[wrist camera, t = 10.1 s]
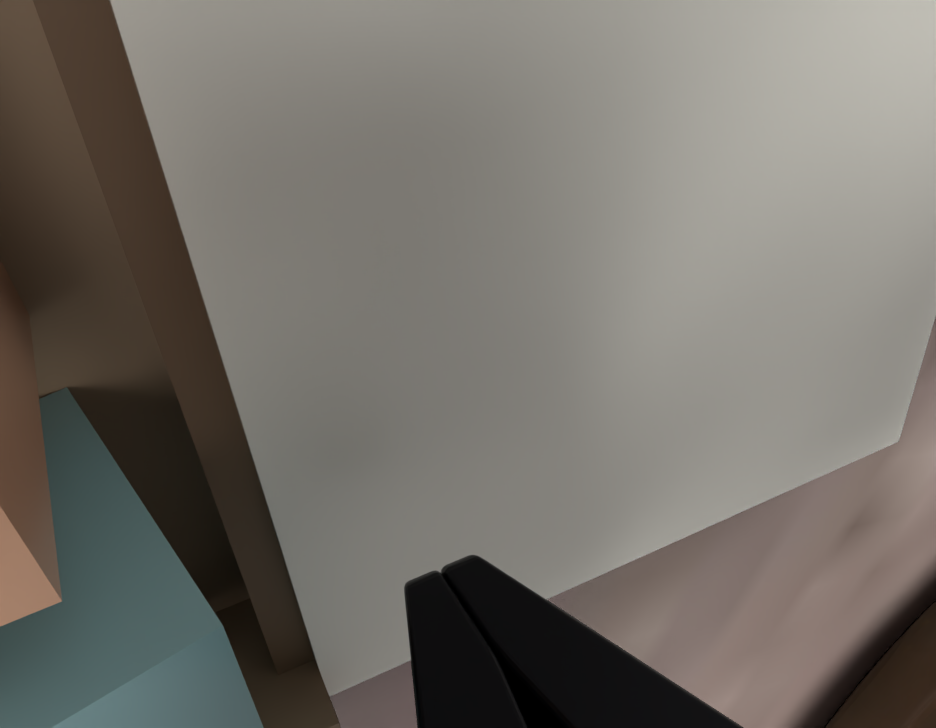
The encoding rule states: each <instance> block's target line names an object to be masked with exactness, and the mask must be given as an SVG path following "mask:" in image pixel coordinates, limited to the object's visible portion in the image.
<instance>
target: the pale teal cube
mask: <svg viewBox="0 0 936 728" xmlns="http://www.w3.org/2000/svg"><path fill="white" fill-rule="evenodd" d="M39 404H40V413H41V421H42V430H43V439H44V448H45V456H46V465H47V474H48V482H49V491H50V500H51V509H52V517H53V526H54V535H55V543H56V552H57V561H58V570H59V578H60V587H61V596H62V602H59V603H57V604H54V605H52V606H49V607H47V608H45V609H42V610H40V611H37V612H35V613H32V614H30V615H27V616H25V617H22V618H20V619H18V620H15V621H13V622H10V623H8V624H5V625H3V626H0V728H264V727H263V725H262V722H261V720H260V717H259V715H258V712H257V710H256V707H255V705H254V702H253V700H252V697H251V695H250V692H249V690H248V687H247V685H246V682H245V680H244V677H243V675H242V672H241V670H240V667H239V665H238V662H237V660H236V657H235V655H234V652H233V650H232V647H231V645H230V642H229V640H228V637H227V635H226V632H225V630H224V627H223V625H222V623H221V622H220V620H219V619H218V617H217V616H216V614H215V613H214V611H213V610H212V608H211V607H210V605H209V603H208V602H207V600H206V599H205V597H204V596H203V594H202V593H201V591H200V590H199V588H198V587H197V585H196V584H195V582H194V581H193V579H192V578H191V576H190V574H189V573H188V571H187V570H186V568H185V567H184V565H183V564H182V562H181V561H180V559H179V558H178V556H177V555H176V553H175V552H174V550H173V549H172V547H171V545H170V544H169V542H168V541H167V539H166V538H165V536H164V535H163V533H162V532H161V530H160V529H159V527H158V526H157V524H156V523H155V521H154V520H153V518H152V516H151V515H150V513H149V512H148V510H147V509H146V507H145V506H144V504H143V503H142V501H141V500H140V498H139V497H138V495H137V494H136V492H135V491H134V489H133V487H132V486H131V484H130V483H129V481H128V480H127V478H126V477H125V475H124V474H123V472H122V471H121V469H120V468H119V466H118V465H117V463H116V462H115V460H114V458H113V457H112V455H111V454H110V452H109V451H108V449H107V448H106V446H105V445H104V443H103V442H102V440H101V439H100V437H99V436H98V434H97V432H96V431H95V429H94V428H93V426H92V425H91V423H90V422H89V420H88V419H87V417H86V416H85V414H84V413H83V411H82V410H81V408H80V407H79V405H78V403H77V402H76V400H75V399H74V397H73V396H72V394H71V393H70V391H69V390H68V388H67V387H66V388H64V389H61V390H59V391H57V392H54V393H52V394H50V395H48V396H45V397H43V398H41V399H39Z"/></svg>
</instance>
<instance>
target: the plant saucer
mask: <svg viewBox="0 0 936 728" xmlns="http://www.w3.org/2000/svg"><path fill="white" fill-rule="evenodd" d="M825 728H936V601H935V602H934V603H933V604H932V605H931V606H930V607H929V608H928V609H927V610H926V611H925V612H924V613H923V614H922V615H921V616H920V617H919V618H918V619H917V620H916V621H915V622H914V623H913V624H912V625H911V626H910V627H909V628H908V629H907V630H906V632H905V633H904V634H903V635H902V636H901V637H900V638H899V639H898V640H897V641H896V642H895V643H894V644H893V645H892V647H891V648H890V649H889V650H888V651H887V652H886V653H885V654H884V655H883V657H882V658H881V659H880V660H879V661H878V662H877V664H876V665H875V666H874V667H873V668H872V669H871V671H870V672H869V673H868V674H867V675H866V676H865V678H864V679H863V680H862V681H861V682H860V684H859V685H858V686H857V687H856V688H855V689H854V691H853V692H852V693H851V694H850V696H849V697H848V698H847V700H846V701H845V702H844V703H843V705H842V706H841V707H840V708H839V710H838V711H837V712H836V714H835V715H834V716H833V717H832V719H831V720H830V721H829V723H828V724H827V726H826V727H825Z"/></svg>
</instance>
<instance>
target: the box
mask: <svg viewBox="0 0 936 728" xmlns="http://www.w3.org/2000/svg"><path fill="white" fill-rule="evenodd" d="M0 260H1V262H2V264H3V265H4V267H5V269H6V271H7V273H8V275H9V277H10V279H11V281H12V283H13V285H14V287H15V289H16V291H17V293H18V294H19V296H20V298H21V300H22V302H23V304H24V306H25V308H26V310H27V312H28V314H29V317H30V325H31V334H32V343H33V352H34V360H35V369H36V378H37V386H38V395H39V399H41V398H43V397H45V396H48V395H50V394H52V393H54V392H57V391H59V390H61V389H64V388H66V387H67V388H68V390H69V391H70V393H71V394H72V396H73V397H74V399H75V400H76V402H77V403H78V405H79V407H80V408H81V410H82V411H83V413H84V414H85V416H86V417H87V419H88V420H89V422H90V423H91V425H92V426H93V428H94V429H95V431H96V432H97V434H98V436H99V437H100V439H101V440H102V442H103V443H104V445H105V446H106V448H107V449H108V451H109V452H110V454H111V455H112V457H113V458H114V460H115V462H116V463H117V465H118V466H119V468H120V469H121V471H122V472H123V474H124V475H125V477H126V478H127V480H128V481H129V483H130V484H131V486H132V487H133V489H134V491H135V492H136V494H137V495H138V497H139V498H140V500H141V501H142V503H143V504H144V506H145V507H146V509H147V510H148V512H149V513H150V515H151V516H152V518H153V520H154V521H155V523H156V524H157V526H158V527H159V529H160V530H161V532H162V533H163V535H164V536H165V538H166V539H167V541H168V542H169V544H170V545H171V547H172V549H173V550H174V552H175V553H176V555H177V556H178V558H179V559H180V561H181V562H182V564H183V565H184V567H185V568H186V570H187V571H188V573H189V574H190V576H191V578H192V579H193V581H194V582H195V584H196V585H197V587H198V588H199V590H200V591H201V593H202V594H203V596H204V597H205V599H206V600H207V602H208V603H209V605H210V607H211V608H212V610H213V611H214V613H215V614H216V616H217V617H218V619H219V620H220V622H221V623H222V625H223V627H224V630H225V632H226V635H227V637H228V640H229V642H230V645H231V647H232V650H233V652H234V655H235V657H236V660H237V662H238V665H239V667H240V670H241V672H242V675H243V677H244V680H245V682H246V685H247V687H248V690H249V692H250V695H251V697H252V700H253V702H254V705H255V707H256V710H257V712H258V715H259V717H260V720H261V722H262V725H263V727H264V728H341V727H340V723H339V721H338V718H337V715H336V713H335V710H334V708H333V705H332V702H331V700H330V697H329V694H328V692H327V689H326V687H325V684H324V681H323V679H322V676H321V673H320V671H319V668H318V666H317V663H316V660H315V657H314V654H313V651H312V648H311V645H310V641H309V638H308V635H307V632H306V629H305V625H304V622H303V619H302V616H301V613H300V610H299V606H298V603H297V600H296V597H295V594H294V590H293V587H292V584H291V581H290V578H289V574H288V571H287V568H286V565H285V562H284V558H283V555H282V552H281V549H280V546H279V542H278V539H277V536H276V533H275V530H274V527H273V523H272V520H271V517H270V514H269V511H268V507H267V504H266V501H265V498H264V495H263V491H262V488H261V485H260V482H259V479H258V475H257V472H256V469H255V466H254V463H253V460H252V456H251V453H250V450H249V447H248V444H247V440H246V437H245V434H244V431H243V428H242V424H241V421H240V418H239V415H238V412H237V408H236V405H235V402H234V399H233V396H232V393H231V389H230V386H229V383H228V380H227V377H226V373H225V370H224V367H223V364H222V361H221V357H220V354H219V351H218V348H217V345H216V341H215V338H214V335H213V332H212V329H211V326H210V322H209V319H208V316H207V313H206V310H205V306H204V303H203V300H202V297H201V294H200V290H199V287H198V284H197V281H196V278H195V274H194V271H193V268H192V265H191V262H190V258H189V255H188V252H187V249H186V246H185V243H184V239H183V236H182V233H181V230H180V227H179V223H178V220H177V217H176V214H175V211H174V207H173V204H172V201H171V198H170V195H169V191H168V188H167V185H166V182H165V179H164V176H163V172H162V169H161V166H160V163H159V160H158V156H157V153H156V150H155V147H154V144H153V140H152V137H151V134H150V131H149V128H148V124H147V121H146V118H145V115H144V112H143V109H142V105H141V102H140V99H139V96H138V93H137V89H136V86H135V83H134V80H133V77H132V73H131V70H130V67H129V64H128V61H127V57H126V54H125V51H124V48H123V45H122V42H121V38H120V35H119V32H118V29H117V26H116V22H115V19H114V16H113V13H112V10H111V6H110V3H109V0H0Z"/></svg>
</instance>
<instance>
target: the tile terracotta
mask: <svg viewBox="0 0 936 728" xmlns="http://www.w3.org/2000/svg"><path fill="white" fill-rule="evenodd" d="M59 602H62V596H61V587H60V578H59V570H58V561H57V552H56V543H55V535H54V526H53V517H52V509H51V500H50V491H49V482H48V474H47V465H46V456H45V448H44V439H43V430H42V421H41V413H40V404H39V395H38V386H37V378H36V369H35V360H34V352H33V343H32V334H31V325H30V317H29V314H28V312H27V310H26V308H25V306H24V304H23V302H22V300H21V298H20V296H19V294H18V293H17V291H16V289H15V287H14V285H13V283H12V281H11V279H10V277H9V275H8V273H7V271H6V269H5V267H4V265H3V264H2V262H1V260H0V626H3V625H5V624H8V623H10V622H13V621H15V620H18V619H20V618H22V617H25V616H27V615H30V614H32V613H35V612H37V611H40V610H42V609H45V608H47V607H49V606H52V605H54V604H57V603H59Z"/></svg>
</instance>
